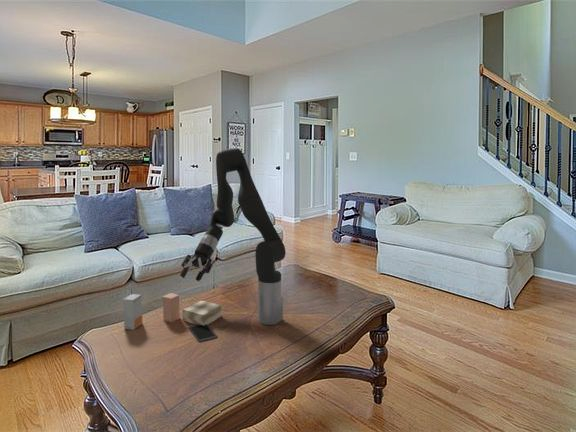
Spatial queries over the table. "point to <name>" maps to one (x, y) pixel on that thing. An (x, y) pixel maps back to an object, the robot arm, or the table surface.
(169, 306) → the terracotta block
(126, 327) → the skincare box
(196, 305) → the birch riser
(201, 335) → the cell phone
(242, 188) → the robot arm
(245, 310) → the table surface
